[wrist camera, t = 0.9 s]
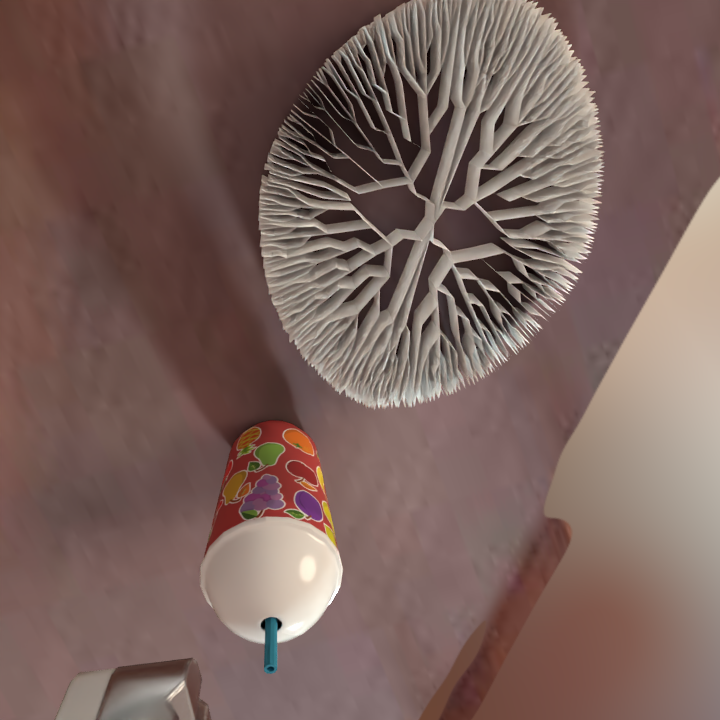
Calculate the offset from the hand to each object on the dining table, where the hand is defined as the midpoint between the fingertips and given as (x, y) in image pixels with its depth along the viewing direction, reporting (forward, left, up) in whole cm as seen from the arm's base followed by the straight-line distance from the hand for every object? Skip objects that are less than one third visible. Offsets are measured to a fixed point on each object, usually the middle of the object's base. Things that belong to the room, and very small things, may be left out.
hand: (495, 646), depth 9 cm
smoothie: (+17, -11, -37) cm, 42 cm away
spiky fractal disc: (+4, +6, -36) cm, 37 cm away
